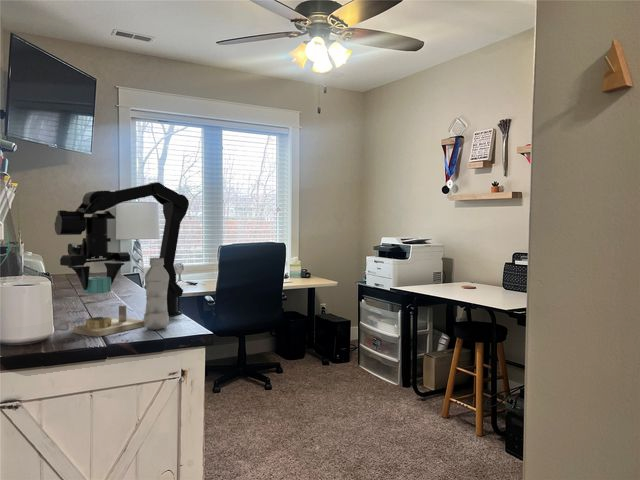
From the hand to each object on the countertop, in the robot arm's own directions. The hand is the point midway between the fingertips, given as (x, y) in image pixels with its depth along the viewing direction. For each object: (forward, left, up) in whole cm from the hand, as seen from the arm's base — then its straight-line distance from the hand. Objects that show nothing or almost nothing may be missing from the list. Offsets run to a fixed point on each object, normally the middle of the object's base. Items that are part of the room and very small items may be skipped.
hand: (97, 288), depth 132 cm
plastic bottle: (-5, +18, -11) cm, 22 cm away
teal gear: (0, 0, -1) cm, 1 cm away
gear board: (+1, +8, -11) cm, 13 cm away
